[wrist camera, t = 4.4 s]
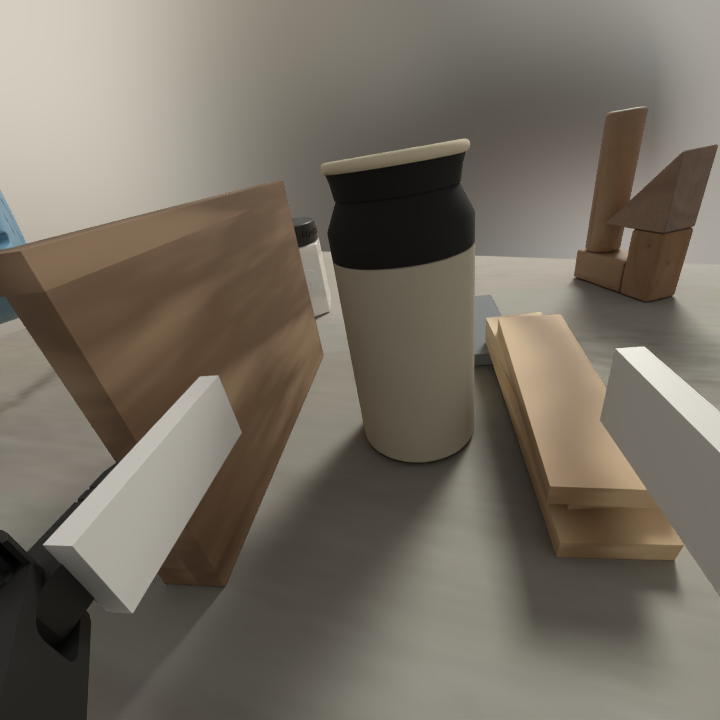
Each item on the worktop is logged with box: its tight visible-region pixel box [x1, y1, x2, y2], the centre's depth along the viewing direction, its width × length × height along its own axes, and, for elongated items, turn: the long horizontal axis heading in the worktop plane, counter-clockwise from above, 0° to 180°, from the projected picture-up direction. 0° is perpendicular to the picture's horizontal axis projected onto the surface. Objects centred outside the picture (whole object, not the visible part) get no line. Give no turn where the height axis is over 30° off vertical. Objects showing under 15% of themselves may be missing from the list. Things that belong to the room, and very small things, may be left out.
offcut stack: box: [485, 312, 684, 560], centre depth 24 cm, size 6×20×4 cm, turn 173°
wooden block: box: [574, 106, 718, 302], centre depth 39 cm, size 4×11×18 cm, turn 12°
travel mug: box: [320, 139, 475, 462], centre depth 23 cm, size 8×8×18 cm
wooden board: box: [0, 181, 324, 587], centre depth 25 cm, size 4×24×17 cm, turn 173°
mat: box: [474, 295, 501, 366], centre depth 39 cm, size 14×14×1 cm
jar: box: [292, 217, 331, 317], centre depth 49 cm, size 9×8×12 cm
